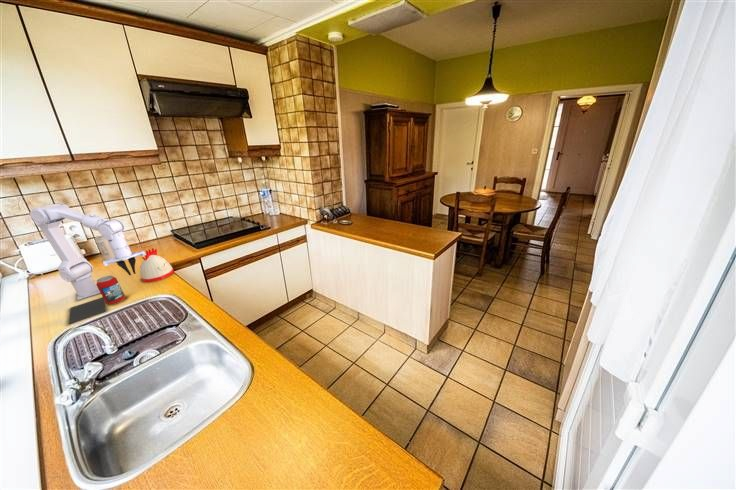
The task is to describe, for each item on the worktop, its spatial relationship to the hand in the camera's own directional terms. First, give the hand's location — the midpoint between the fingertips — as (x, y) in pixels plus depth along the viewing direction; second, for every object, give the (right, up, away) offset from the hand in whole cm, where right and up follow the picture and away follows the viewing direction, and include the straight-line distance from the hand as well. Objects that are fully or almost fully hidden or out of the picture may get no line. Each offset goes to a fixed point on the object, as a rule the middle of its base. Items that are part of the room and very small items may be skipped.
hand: (132, 273), depth 123 cm
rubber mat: (-13, -15, -7) cm, 21 cm away
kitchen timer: (-4, -3, +20) cm, 21 cm away
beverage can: (-6, -13, -2) cm, 14 cm away
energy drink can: (-54, +4, +45) cm, 70 cm away
